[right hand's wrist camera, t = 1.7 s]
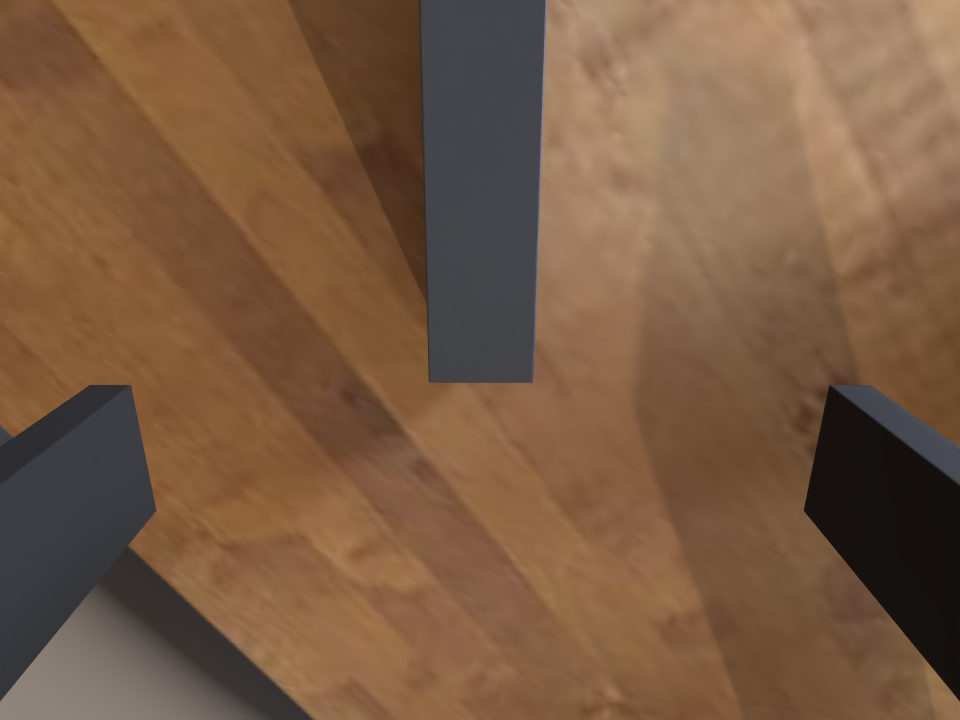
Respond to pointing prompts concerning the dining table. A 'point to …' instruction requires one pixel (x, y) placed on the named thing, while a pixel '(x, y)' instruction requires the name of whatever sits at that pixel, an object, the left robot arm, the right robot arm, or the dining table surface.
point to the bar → (482, 185)
